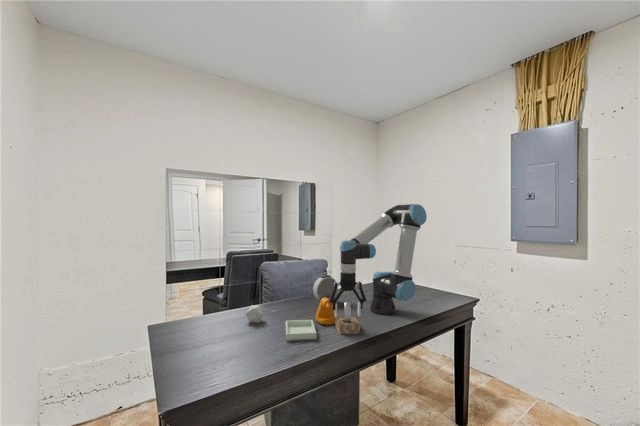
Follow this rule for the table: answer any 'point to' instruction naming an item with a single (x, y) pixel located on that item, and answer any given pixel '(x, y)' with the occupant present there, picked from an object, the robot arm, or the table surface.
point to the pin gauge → (347, 312)
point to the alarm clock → (323, 288)
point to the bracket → (325, 312)
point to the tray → (300, 330)
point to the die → (255, 314)
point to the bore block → (347, 326)
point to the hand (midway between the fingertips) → (347, 316)
